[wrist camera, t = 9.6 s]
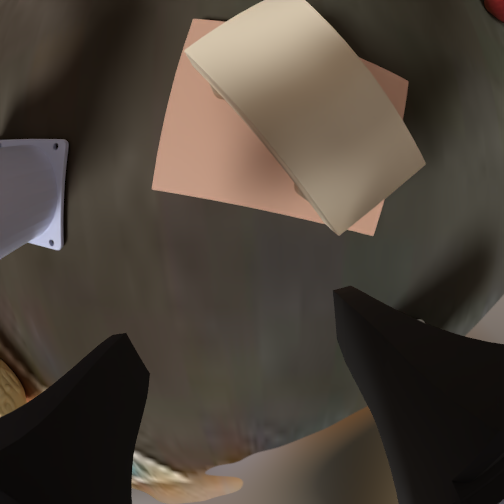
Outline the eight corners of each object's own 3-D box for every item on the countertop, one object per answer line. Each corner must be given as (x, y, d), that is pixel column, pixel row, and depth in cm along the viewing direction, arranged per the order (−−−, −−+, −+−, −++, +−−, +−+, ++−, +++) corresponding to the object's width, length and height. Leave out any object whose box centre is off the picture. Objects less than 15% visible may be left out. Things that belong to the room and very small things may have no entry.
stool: (366, 156, 15) (426, 164, 9) (303, 205, 16) (338, 235, 10) (273, 39, 12) (291, -12, 6) (203, 86, 13) (183, 50, 7)
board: (156, 187, 16) (151, 189, 15) (195, 25, 12) (193, 18, 11) (366, 231, 18) (373, 236, 17) (401, 83, 14) (408, 81, 13)
